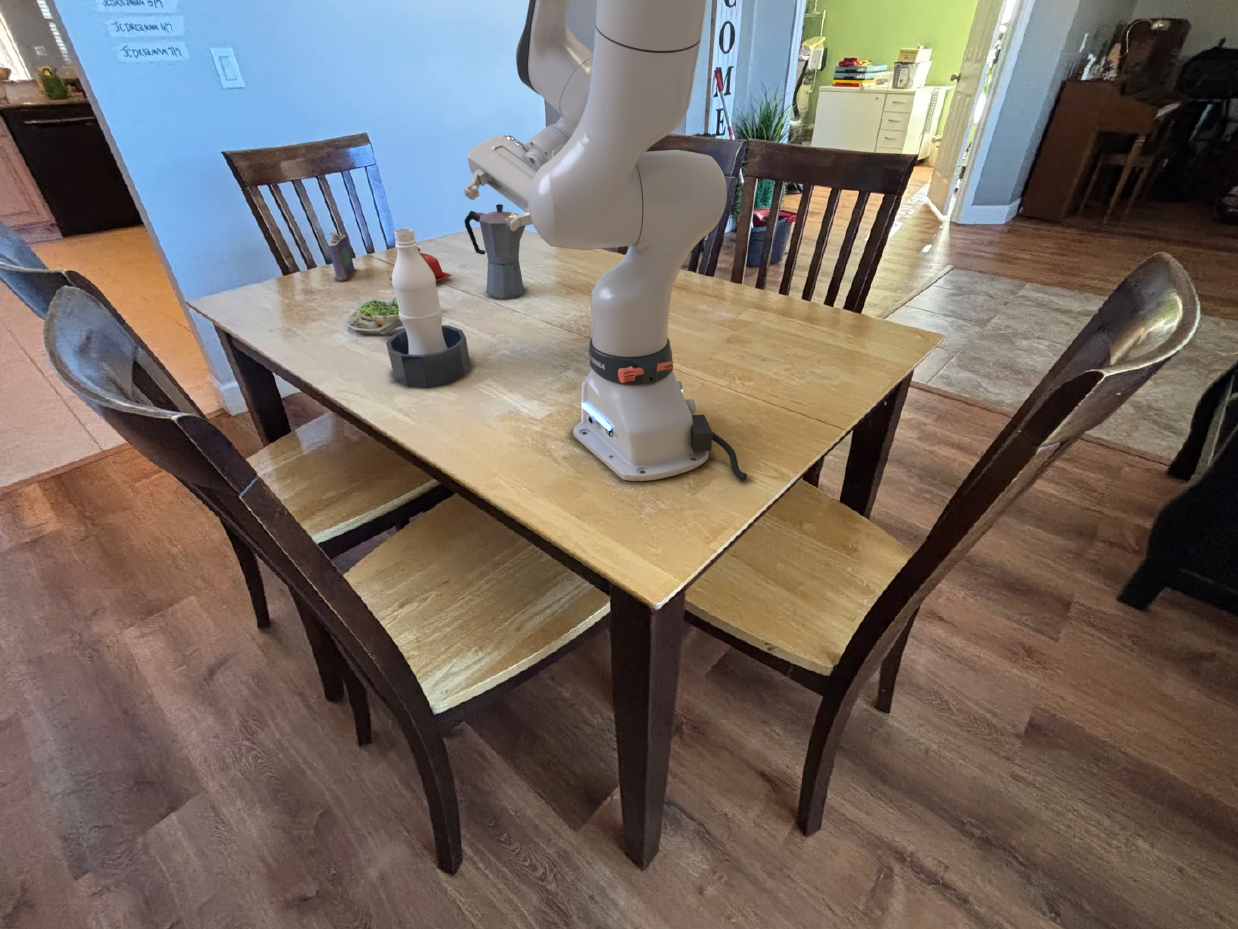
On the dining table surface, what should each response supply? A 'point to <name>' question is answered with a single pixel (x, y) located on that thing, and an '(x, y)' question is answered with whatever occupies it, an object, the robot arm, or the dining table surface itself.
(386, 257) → the dining table surface
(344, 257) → the flask
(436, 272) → the butter dish
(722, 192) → the robot arm
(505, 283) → the moka pot
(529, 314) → the dining table surface
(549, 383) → the dining table surface
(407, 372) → the dark grey faceted ring
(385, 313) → the avocado toast plate
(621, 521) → the dining table surface
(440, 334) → the water bottle
